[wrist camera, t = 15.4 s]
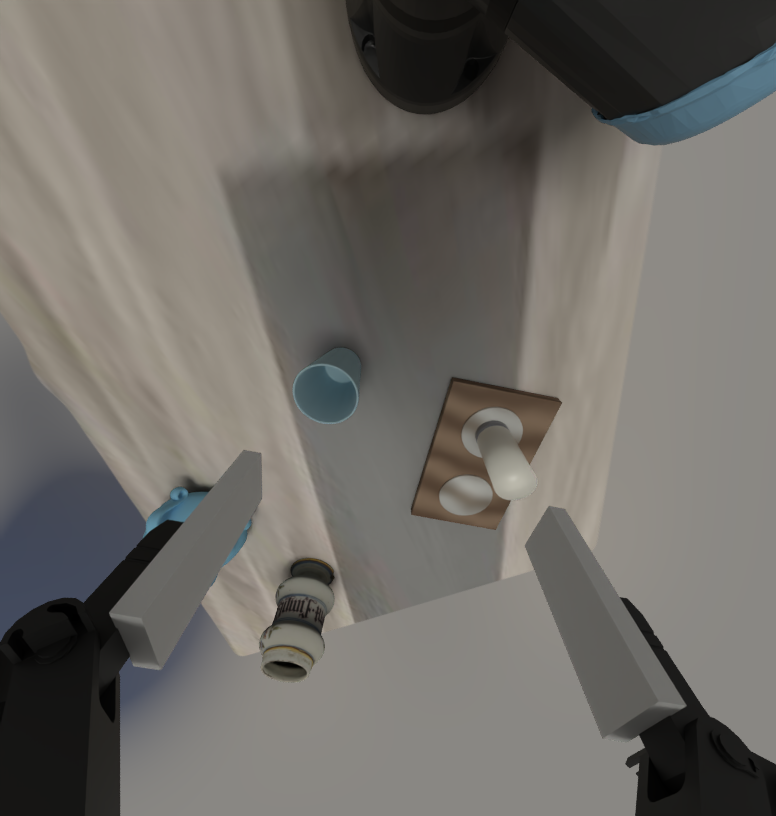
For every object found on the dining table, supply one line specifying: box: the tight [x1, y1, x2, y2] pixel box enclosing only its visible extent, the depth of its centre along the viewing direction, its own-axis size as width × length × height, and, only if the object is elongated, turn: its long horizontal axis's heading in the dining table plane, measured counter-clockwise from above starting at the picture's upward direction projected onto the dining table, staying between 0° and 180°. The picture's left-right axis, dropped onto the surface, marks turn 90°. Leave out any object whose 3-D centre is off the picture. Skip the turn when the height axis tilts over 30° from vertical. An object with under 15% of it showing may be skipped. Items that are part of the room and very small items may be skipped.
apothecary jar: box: [259, 558, 334, 683], centre depth 59 cm, size 12×12×18 cm
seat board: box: [411, 377, 562, 530], centre depth 49 cm, size 27×16×2 cm, turn 169°
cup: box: [293, 348, 361, 424], centre depth 39 cm, size 8×8×10 cm
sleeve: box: [475, 420, 537, 500], centre depth 40 cm, size 5×5×11 cm
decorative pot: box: [143, 487, 251, 587], centre depth 53 cm, size 16×16×14 cm
